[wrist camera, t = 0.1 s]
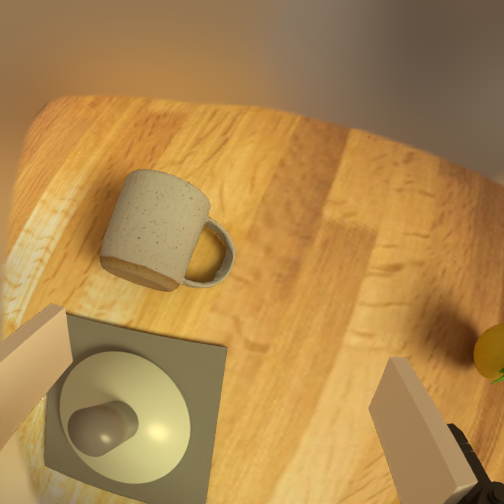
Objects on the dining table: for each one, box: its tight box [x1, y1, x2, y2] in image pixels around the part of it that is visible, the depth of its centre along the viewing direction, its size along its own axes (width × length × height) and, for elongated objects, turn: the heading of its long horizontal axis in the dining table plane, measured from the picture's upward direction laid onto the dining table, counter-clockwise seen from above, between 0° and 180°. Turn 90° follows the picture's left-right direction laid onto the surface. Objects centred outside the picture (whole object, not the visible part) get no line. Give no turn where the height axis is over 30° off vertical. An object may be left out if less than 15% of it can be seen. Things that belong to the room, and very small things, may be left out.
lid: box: [60, 351, 191, 484], centre depth 20 cm, size 12×12×7 cm
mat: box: [45, 314, 227, 504], centre depth 24 cm, size 16×16×1 cm
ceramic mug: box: [100, 169, 236, 292], centre depth 26 cm, size 11×8×8 cm
